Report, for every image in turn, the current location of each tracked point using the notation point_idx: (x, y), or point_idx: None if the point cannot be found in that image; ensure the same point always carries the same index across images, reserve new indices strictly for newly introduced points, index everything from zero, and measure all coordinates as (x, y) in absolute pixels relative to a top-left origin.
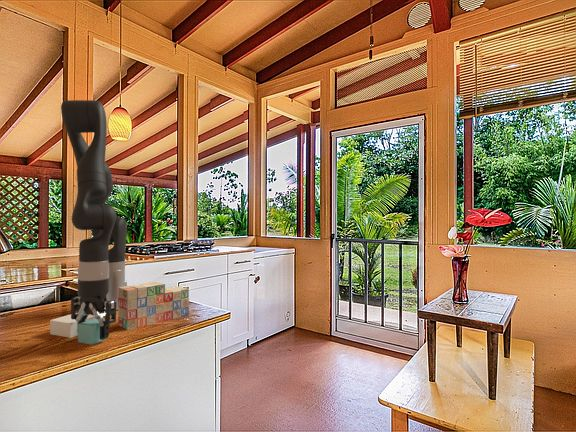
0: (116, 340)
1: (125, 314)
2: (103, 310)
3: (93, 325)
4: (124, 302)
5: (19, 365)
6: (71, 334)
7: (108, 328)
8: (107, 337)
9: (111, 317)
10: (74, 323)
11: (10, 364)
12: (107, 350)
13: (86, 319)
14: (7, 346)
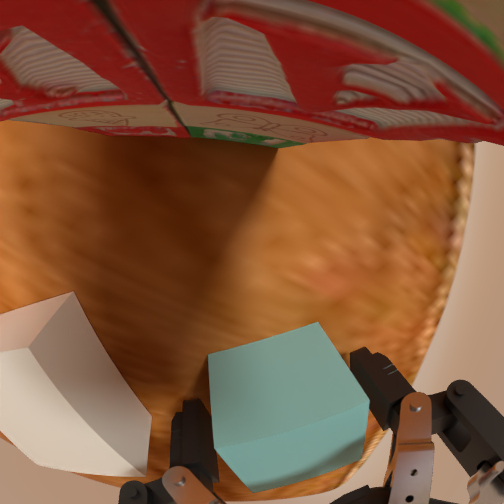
0: (384, 301)
1: (277, 128)
2: (402, 490)
3: (359, 456)
4: (323, 63)
5: (288, 490)
6: (147, 425)
7: (404, 382)
8: (363, 347)
9: (458, 416)
10: (133, 461)
11: (265, 497)
12: (421, 360)
13: (81, 410)
14: (118, 485)
